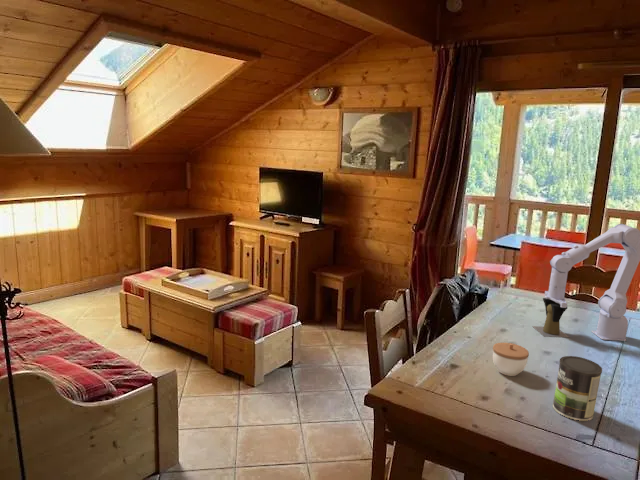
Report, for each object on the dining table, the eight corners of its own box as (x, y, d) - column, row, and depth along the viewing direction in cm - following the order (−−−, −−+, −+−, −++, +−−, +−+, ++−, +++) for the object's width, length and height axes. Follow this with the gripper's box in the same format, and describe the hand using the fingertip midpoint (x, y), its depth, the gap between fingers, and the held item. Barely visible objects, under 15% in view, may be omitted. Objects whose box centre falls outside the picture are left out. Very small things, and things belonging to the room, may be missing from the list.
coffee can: (566, 421, 127) (574, 373, 124) (545, 401, 137) (552, 355, 134) (602, 421, 128) (611, 373, 125) (579, 400, 138) (586, 355, 135)
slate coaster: (556, 329, 195) (556, 327, 194) (568, 340, 185) (569, 337, 185) (531, 328, 194) (532, 326, 194) (543, 339, 185) (543, 336, 184)
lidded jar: (503, 381, 148) (507, 353, 146) (483, 365, 158) (486, 338, 156) (533, 378, 151) (537, 350, 149) (511, 362, 161) (514, 336, 159)
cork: (561, 335, 186) (565, 308, 184) (544, 333, 187) (548, 306, 185) (557, 329, 191) (560, 303, 189) (541, 328, 193) (544, 302, 191)
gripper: (539, 280, 193) (534, 311, 195) (555, 291, 178) (550, 325, 181) (556, 280, 192) (551, 312, 195) (574, 292, 178) (569, 326, 181)
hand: (552, 319), depth 188 cm, fingers closed on cork, 5 cm apart
